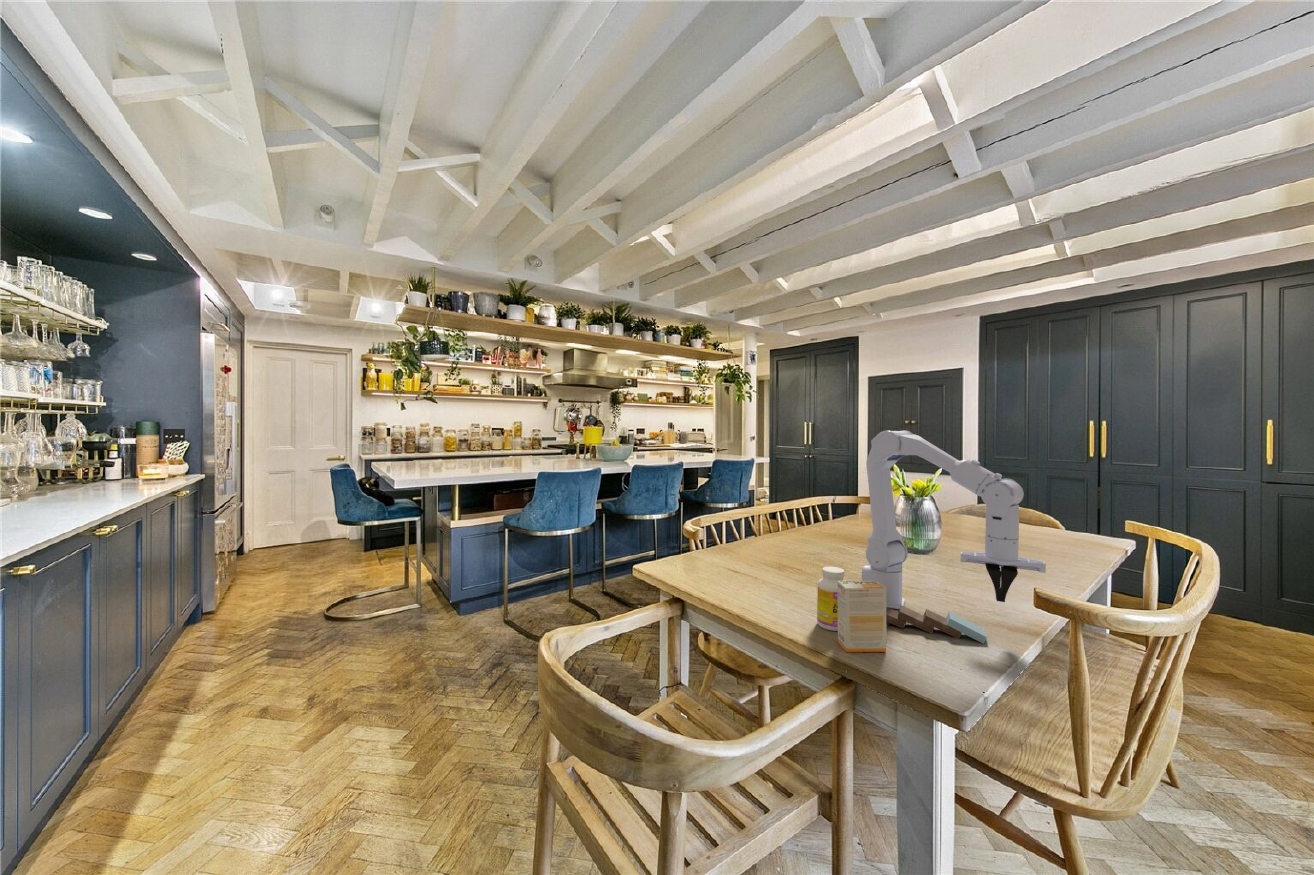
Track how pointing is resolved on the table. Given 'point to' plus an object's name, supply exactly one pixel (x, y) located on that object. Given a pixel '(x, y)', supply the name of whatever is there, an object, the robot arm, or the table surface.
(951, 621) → the teal domino
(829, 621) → the supplement bottle
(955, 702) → the table surface
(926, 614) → the domino
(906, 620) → the domino
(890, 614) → the domino
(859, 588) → the supplement box
